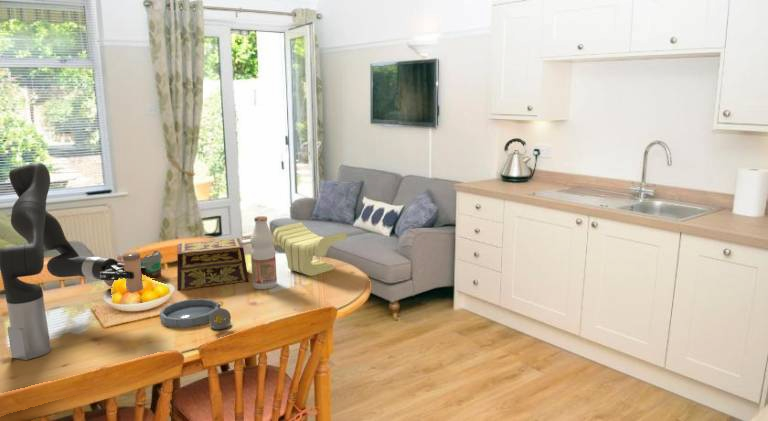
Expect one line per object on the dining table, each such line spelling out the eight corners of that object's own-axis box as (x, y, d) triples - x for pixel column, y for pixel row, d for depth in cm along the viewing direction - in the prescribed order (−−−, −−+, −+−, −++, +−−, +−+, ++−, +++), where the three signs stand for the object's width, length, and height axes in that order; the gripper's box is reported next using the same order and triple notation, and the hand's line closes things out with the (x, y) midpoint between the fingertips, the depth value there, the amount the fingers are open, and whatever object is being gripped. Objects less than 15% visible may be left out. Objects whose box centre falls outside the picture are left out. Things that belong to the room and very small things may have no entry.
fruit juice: (248, 288, 226) (243, 218, 220) (262, 280, 234) (257, 214, 229) (268, 290, 222) (263, 220, 217) (281, 283, 231) (277, 215, 225)
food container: (153, 282, 235) (150, 258, 233) (139, 281, 237) (137, 258, 235) (170, 273, 247) (167, 250, 245) (157, 272, 248) (154, 250, 246)
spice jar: (135, 293, 187) (131, 257, 185) (122, 291, 189) (118, 256, 186) (147, 287, 192) (143, 253, 190) (134, 286, 194) (130, 252, 191)
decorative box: (177, 291, 224) (174, 254, 221) (177, 277, 241) (174, 243, 238) (249, 282, 233) (246, 247, 230) (244, 270, 250) (242, 236, 247)
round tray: (194, 330, 186) (194, 322, 185) (148, 323, 193) (147, 315, 192) (230, 309, 203) (229, 302, 203) (186, 303, 210) (186, 296, 210)
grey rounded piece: (223, 320, 193) (221, 292, 191) (238, 326, 188) (236, 298, 186) (202, 328, 187) (199, 299, 185) (217, 335, 182) (214, 305, 180)
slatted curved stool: (274, 267, 252) (272, 228, 248) (302, 259, 263) (301, 222, 260) (318, 281, 232) (317, 239, 228) (347, 272, 243) (346, 232, 239)
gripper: (81, 263, 187) (121, 268, 181) (115, 252, 200) (154, 256, 194) (84, 285, 188) (124, 290, 182) (117, 272, 201) (156, 277, 196)
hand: (139, 273), depth 188 cm, fingers closed on spice jar, 5 cm apart
